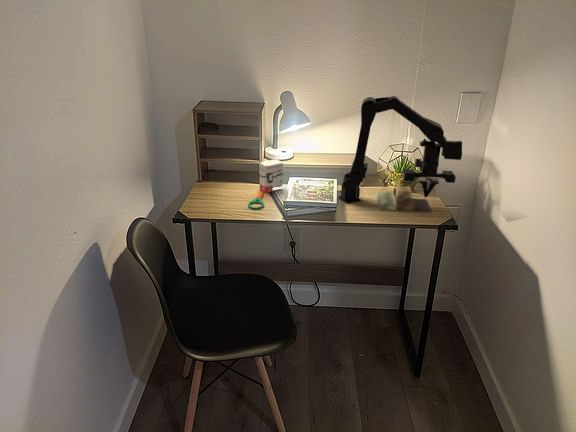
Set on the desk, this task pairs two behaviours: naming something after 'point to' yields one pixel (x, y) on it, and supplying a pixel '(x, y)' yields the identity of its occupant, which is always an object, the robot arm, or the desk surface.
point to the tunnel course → (401, 202)
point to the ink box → (270, 175)
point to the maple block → (403, 192)
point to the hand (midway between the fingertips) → (425, 196)
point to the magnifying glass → (257, 202)
